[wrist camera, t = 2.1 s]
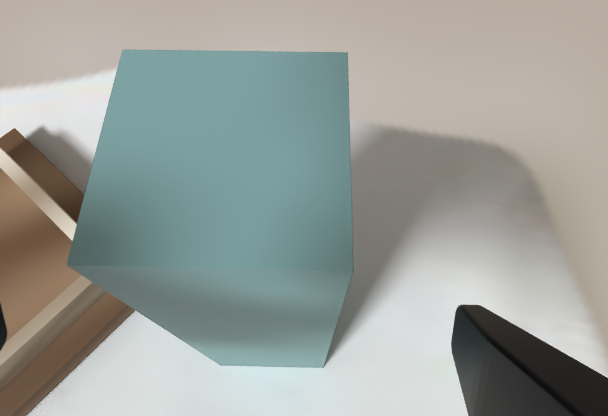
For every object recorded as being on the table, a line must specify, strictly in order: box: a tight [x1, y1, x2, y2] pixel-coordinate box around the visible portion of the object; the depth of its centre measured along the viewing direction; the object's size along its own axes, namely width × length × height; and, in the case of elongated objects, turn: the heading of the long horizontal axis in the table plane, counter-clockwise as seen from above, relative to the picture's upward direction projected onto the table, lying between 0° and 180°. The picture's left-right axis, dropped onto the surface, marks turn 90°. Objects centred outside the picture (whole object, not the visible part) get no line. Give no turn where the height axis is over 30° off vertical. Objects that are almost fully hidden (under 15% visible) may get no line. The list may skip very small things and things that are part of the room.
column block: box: [66, 50, 353, 368], centre depth 14 cm, size 4×4×14 cm
